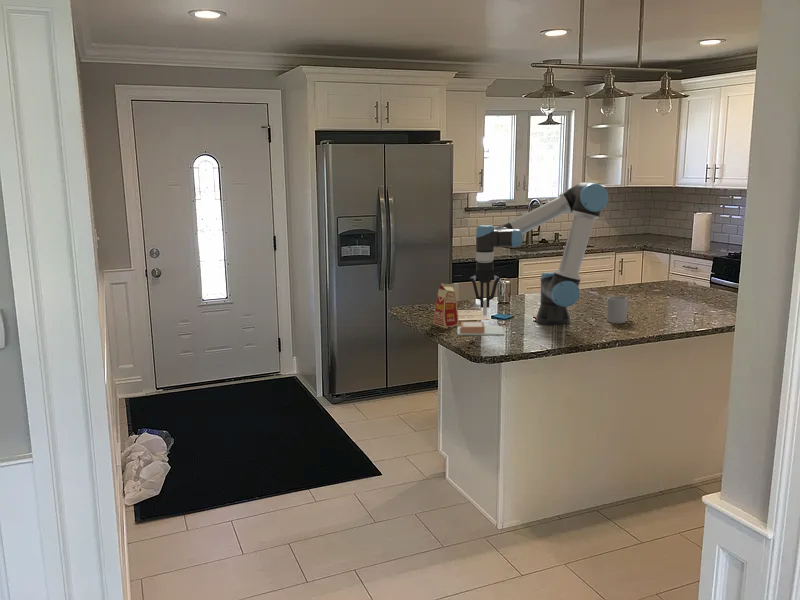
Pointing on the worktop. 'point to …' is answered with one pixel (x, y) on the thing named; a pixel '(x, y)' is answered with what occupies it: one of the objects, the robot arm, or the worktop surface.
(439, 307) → the milk carton
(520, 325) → the worktop surface
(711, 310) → the worktop surface
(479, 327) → the tile
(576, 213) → the robot arm
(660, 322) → the worktop surface
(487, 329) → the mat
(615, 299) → the mug
